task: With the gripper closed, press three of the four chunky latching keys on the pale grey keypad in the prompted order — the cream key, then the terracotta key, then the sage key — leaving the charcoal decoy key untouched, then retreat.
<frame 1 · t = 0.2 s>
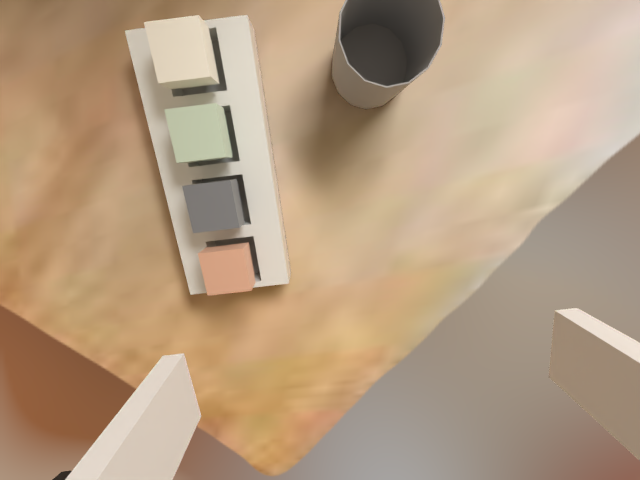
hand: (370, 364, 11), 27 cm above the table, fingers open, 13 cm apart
key charcoal: (217, 204, 31), point 5 cm above the table, slide at 0.0 cm
key cream: (187, 58, 28), point 5 cm above the table, slide at 0.0 cm
cup: (368, 69, 33), on the table
key terracotta: (230, 266, 33), point 5 cm above the table, slide at 0.0 cm
key sage: (203, 135, 30), point 5 cm above the table, slide at 0.0 cm
keypad: (225, 169, 35), on the table
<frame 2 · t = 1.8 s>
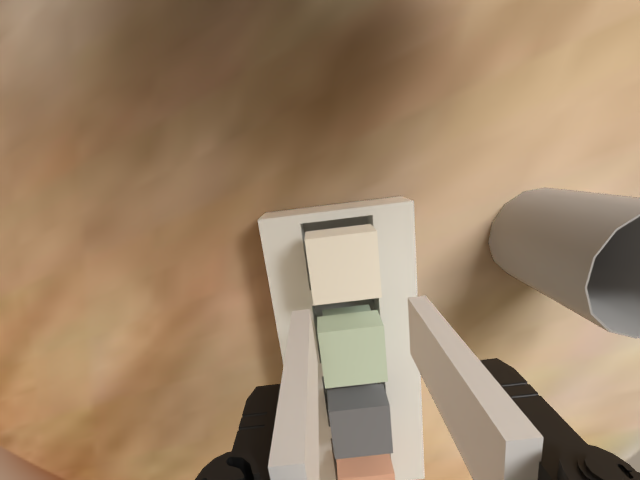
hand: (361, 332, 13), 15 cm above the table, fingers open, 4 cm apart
key charcoal: (357, 412, 25), point 5 cm above the table, slide at 0.0 cm
key cream: (341, 259, 22), point 5 cm above the table, slide at 0.0 cm
cup: (532, 233, 27), on the table
key terracotta: (364, 473, 27), point 5 cm above the table, slide at 0.0 cm
key sage: (350, 341, 24), point 5 cm above the table, slide at 0.0 cm
keypad: (347, 342, 29), on the table
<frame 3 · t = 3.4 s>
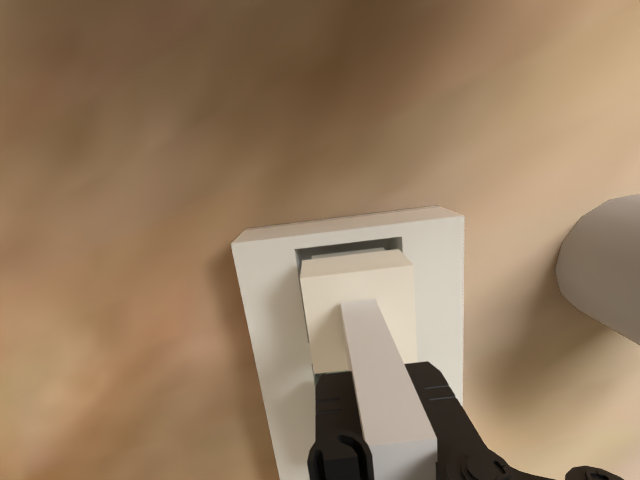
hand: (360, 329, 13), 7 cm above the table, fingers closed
key cream: (355, 300, 15), point 5 cm above the table, slide at 0.5 cm, touching gripper
cup: (616, 257, 20), on the table
key sage: (367, 418, 16), point 5 cm above the table, slide at 0.0 cm
keypad: (359, 399, 22), on the table
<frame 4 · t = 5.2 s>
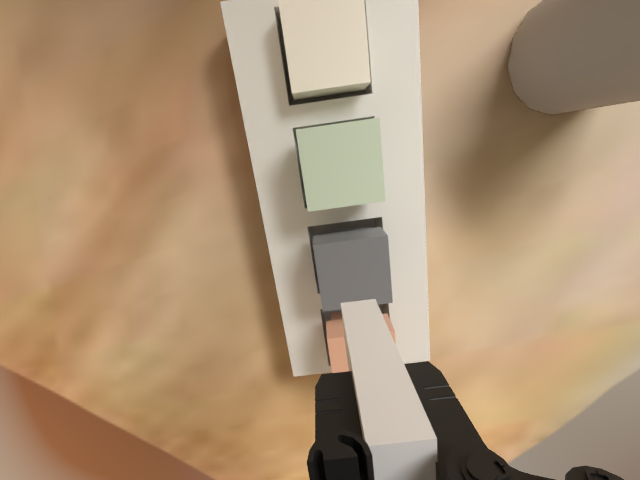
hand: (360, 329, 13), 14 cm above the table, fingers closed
key charcoal: (350, 263, 21), point 5 cm above the table, slide at 0.0 cm
key cream: (325, 53, 19), point 3 cm above the table, slide at 1.8 cm
cup: (562, 54, 22), on the table
key terracotta: (359, 345, 23), point 5 cm above the table, slide at 0.0 cm
key sage: (339, 165, 19), point 5 cm above the table, slide at 0.0 cm
keypad: (340, 204, 25), on the table
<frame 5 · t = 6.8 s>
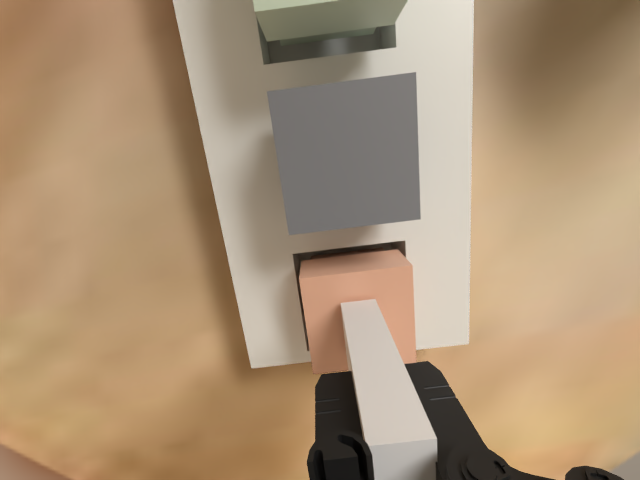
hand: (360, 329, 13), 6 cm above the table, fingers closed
key charcoal: (342, 159, 12), point 5 cm above the table, slide at 0.0 cm
key terracotta: (354, 301, 15), point 4 cm above the table, slide at 1.2 cm, touching gripper
keypad: (328, 92, 16), on the table
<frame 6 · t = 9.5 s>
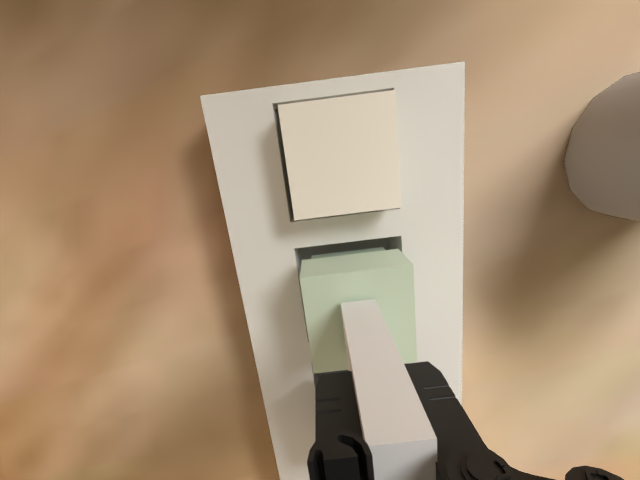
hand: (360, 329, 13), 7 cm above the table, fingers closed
key charcoal: (366, 416, 16), point 5 cm above the table, slide at 0.0 cm
key cream: (338, 158, 14), point 3 cm above the table, slide at 1.8 cm
cup: (631, 147, 18), on the table
key sage: (354, 300, 15), point 5 cm above the table, slide at 0.4 cm, touching gripper
keypad: (350, 315, 20), on the table
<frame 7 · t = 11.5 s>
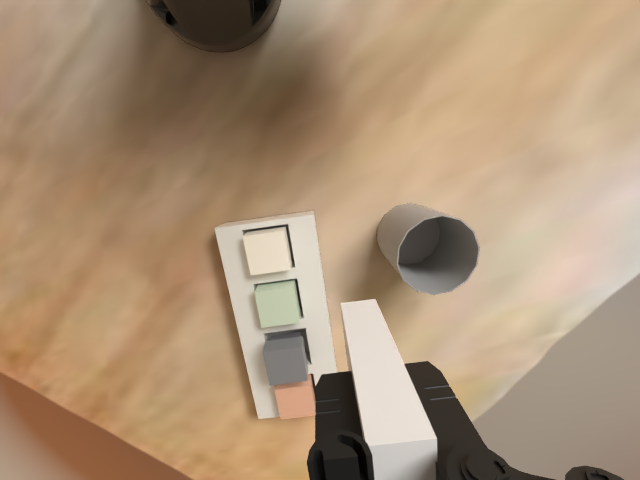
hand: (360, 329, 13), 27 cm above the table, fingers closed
key charcoal: (286, 356, 38), point 5 cm above the table, slide at 0.0 cm
key cream: (269, 248, 36), point 3 cm above the table, slide at 1.8 cm
cup: (407, 234, 40), on the table
key terracotta: (296, 391, 41), point 3 cm above the table, slide at 1.8 cm
key sage: (279, 300, 38), point 3 cm above the table, slide at 1.8 cm
keypad: (286, 313, 42), on the table
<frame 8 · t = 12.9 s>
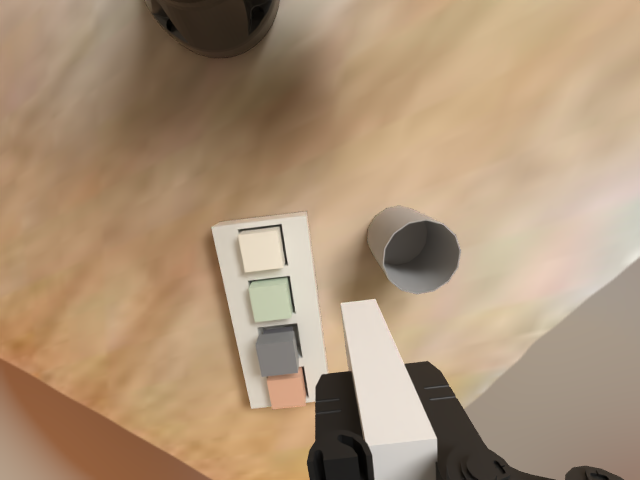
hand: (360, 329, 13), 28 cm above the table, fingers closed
key charcoal: (278, 349, 40), point 5 cm above the table, slide at 0.0 cm
key cream: (263, 247, 38), point 3 cm above the table, slide at 1.8 cm
cup: (396, 235, 41), on the table
key terracotta: (287, 383, 43), point 3 cm above the table, slide at 1.8 cm
key sage: (272, 296, 40), point 3 cm above the table, slide at 1.8 cm
keypad: (279, 308, 44), on the table
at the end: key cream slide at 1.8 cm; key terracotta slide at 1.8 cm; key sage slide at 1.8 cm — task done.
